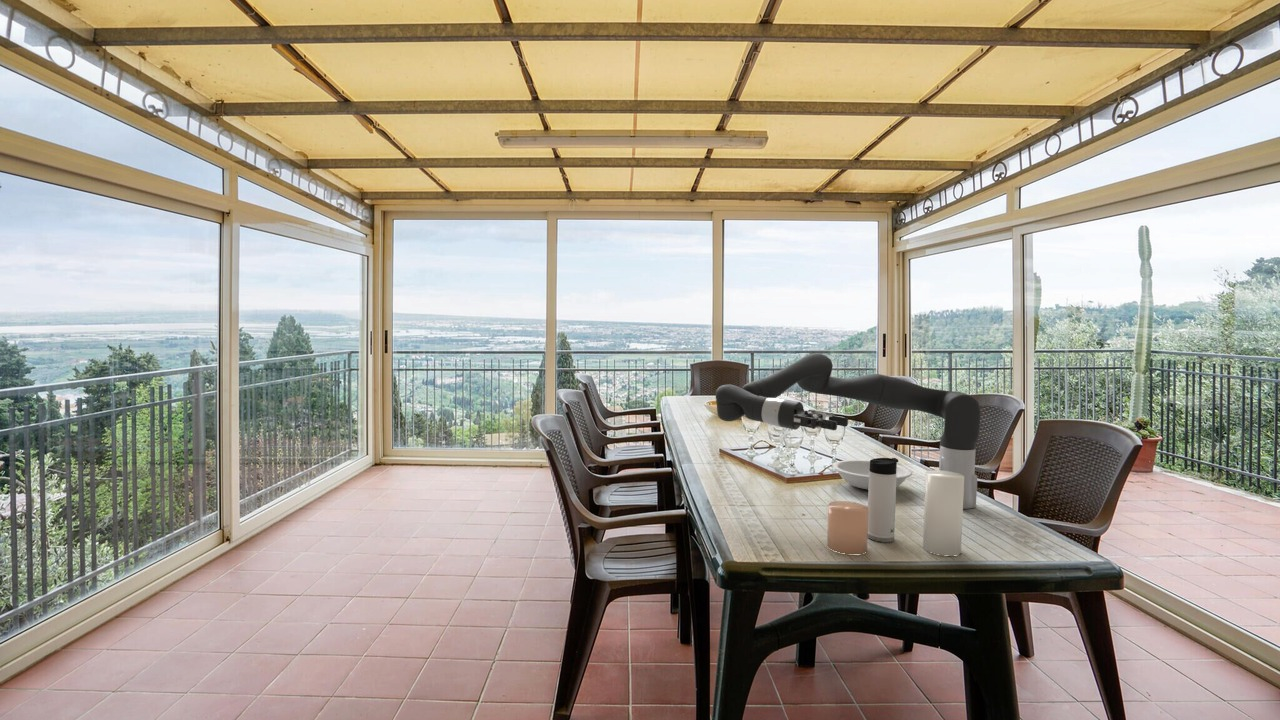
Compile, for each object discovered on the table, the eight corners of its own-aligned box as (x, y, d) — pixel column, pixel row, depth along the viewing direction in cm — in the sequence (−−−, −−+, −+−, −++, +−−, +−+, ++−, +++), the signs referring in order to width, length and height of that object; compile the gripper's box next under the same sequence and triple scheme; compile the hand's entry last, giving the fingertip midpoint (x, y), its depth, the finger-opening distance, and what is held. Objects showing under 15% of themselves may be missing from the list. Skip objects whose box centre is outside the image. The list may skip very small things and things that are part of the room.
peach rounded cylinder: (861, 542, 143) (863, 501, 142) (871, 556, 134) (873, 513, 133) (823, 540, 144) (824, 500, 143) (831, 554, 135) (832, 511, 134)
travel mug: (899, 543, 142) (902, 461, 141) (872, 542, 142) (875, 461, 141) (889, 533, 149) (892, 455, 147) (863, 533, 149) (865, 455, 147)
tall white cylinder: (952, 544, 142) (955, 471, 141) (966, 557, 134) (970, 479, 133) (917, 542, 143) (920, 469, 142) (930, 555, 135) (933, 478, 134)
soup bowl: (917, 486, 194) (918, 466, 194) (903, 503, 174) (904, 481, 174) (843, 474, 208) (844, 456, 207) (822, 490, 188) (823, 469, 187)
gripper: (772, 401, 153) (834, 412, 143) (794, 397, 164) (852, 407, 155) (769, 429, 154) (831, 442, 144) (791, 423, 165) (849, 435, 156)
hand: (842, 424), depth 150 cm, fingers open, 8 cm apart
